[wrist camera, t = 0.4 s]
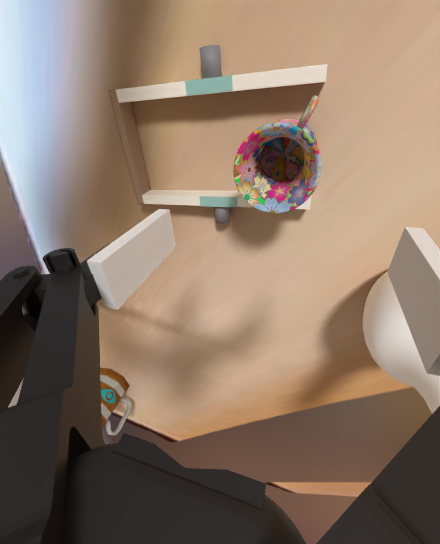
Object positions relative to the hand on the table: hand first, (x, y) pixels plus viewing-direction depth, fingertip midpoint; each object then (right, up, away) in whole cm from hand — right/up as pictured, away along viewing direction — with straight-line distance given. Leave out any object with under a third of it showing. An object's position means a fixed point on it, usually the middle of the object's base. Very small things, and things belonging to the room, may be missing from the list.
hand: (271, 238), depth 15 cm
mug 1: (-40, -44, +80) cm, 100 cm away
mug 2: (+7, +16, +20) cm, 26 cm away
